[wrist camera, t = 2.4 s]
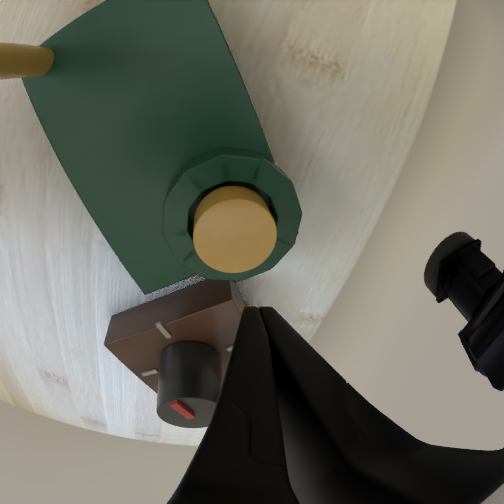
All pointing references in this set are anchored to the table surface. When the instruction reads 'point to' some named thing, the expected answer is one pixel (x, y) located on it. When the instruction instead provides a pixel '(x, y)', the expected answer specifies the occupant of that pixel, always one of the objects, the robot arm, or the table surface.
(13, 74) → the lamp stem
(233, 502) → the robot arm
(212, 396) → the dimmer knob
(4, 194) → the table surface
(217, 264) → the lamp switch
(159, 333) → the dimmer panel
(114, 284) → the table surface
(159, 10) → the lamp base
